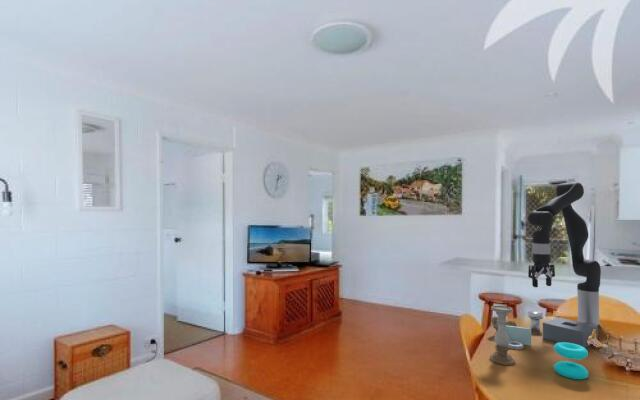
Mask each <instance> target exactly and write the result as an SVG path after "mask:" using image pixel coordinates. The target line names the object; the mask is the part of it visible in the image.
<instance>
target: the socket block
mask: <svg viewBox="0 0 640 400" xmlns="http://www.w3.org/2000/svg"><path fill="white" fill-rule="evenodd" d="M598 327H599V325H591V324H587V323H582V322H578V320H577V321H576V320H572V319H568V318H564V317H558V316H557V317H556V318H553V319H549V320H546V321H544V322H542V338H543V339H545V340H549V341H553V342H556V343H559V342H567V343H573V344H577V345H580V346H582V347H584V348H585V349H586V348H588V347H589V346H588V343H587V340H588V337H589V336H590V335H591V334H592V331H593V329H596V338H597V339H598V340H599V333H598V331H599V328H598ZM587 346H588V347H587Z"/></svg>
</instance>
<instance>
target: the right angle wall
mask: <svg viewBox="0 0 640 400" xmlns="http://www.w3.org/2000/svg"><path fill="white" fill-rule="evenodd" d="M506 332H507V334H508V336H509V339H510V343H509V345H508V347H509V349H512V350H516V351H517V350H518V351H519V350H523V349H524V347H525V346H532V330H531V328H530V327H529V328H528V327H521V326H517V327H514V326H507V325H506ZM524 345H525V346H524Z"/></svg>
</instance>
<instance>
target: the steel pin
mask: <svg viewBox="0 0 640 400" xmlns="http://www.w3.org/2000/svg"><path fill="white" fill-rule="evenodd" d="M543 315H544V314H543V312H542V311H538V310H527V318H529V320H530V322H529V323H530V329H531V331H532V332H533V331H534V332H540V330H541V323H540V322H541V320H543V319H544V317H543Z"/></svg>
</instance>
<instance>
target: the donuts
mask: <svg viewBox="0 0 640 400" xmlns="http://www.w3.org/2000/svg"><path fill="white" fill-rule="evenodd" d="M553 350H554V351H555V353H557V354H558V355H559V356H561V357H563V358H567V359H570V360H584V359H585V358H587V357H588V355H589V352H588V350H587V349H586V348H584V347H582V346H580V345H577V344H573V343H567V342H556V343H555V344H554V345H553ZM553 367H554V371H555V372H556V373H557V374H559V375H560V376H563V377H565V378H568V379H571V380H572V379H573V380H585V379H587V378H588V376H589V371H588V370H587V368H586V367H585V366H583V365H582V364H580V363H577V362H574V361H569V360H559V361H557V362H556V363H555V364H554V366H553Z"/></svg>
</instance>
